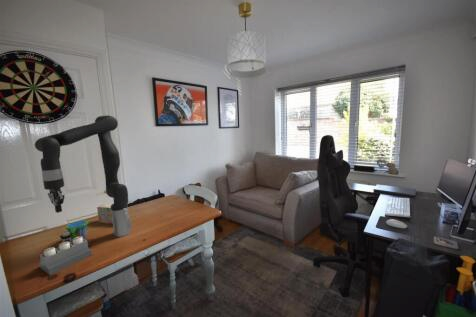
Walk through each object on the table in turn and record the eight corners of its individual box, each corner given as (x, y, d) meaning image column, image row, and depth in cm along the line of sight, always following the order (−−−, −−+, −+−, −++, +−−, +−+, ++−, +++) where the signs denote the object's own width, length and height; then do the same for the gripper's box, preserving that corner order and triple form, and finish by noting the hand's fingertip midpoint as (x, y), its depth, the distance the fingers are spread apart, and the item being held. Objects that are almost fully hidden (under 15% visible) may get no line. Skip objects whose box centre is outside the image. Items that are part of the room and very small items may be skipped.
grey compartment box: (81, 249, 120) (79, 236, 119) (91, 254, 114) (89, 241, 113) (39, 267, 105) (37, 253, 104) (49, 275, 99) (47, 260, 98)
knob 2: (81, 245, 117) (80, 235, 116) (85, 247, 115) (83, 237, 114) (72, 249, 113) (71, 238, 113) (76, 251, 111) (74, 240, 110)
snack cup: (75, 234, 138) (73, 219, 136) (93, 232, 140) (91, 217, 139) (62, 247, 123) (59, 231, 121) (83, 244, 125) (80, 228, 124)
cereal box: (129, 221, 156) (127, 205, 154) (122, 224, 150) (120, 208, 148) (106, 218, 161) (104, 203, 160) (98, 222, 155) (96, 206, 154)
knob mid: (68, 251, 112) (67, 240, 111) (72, 253, 110) (70, 242, 109) (59, 255, 108) (57, 244, 107) (62, 257, 106) (60, 246, 105)
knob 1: (54, 257, 107) (52, 246, 106) (58, 259, 105) (56, 248, 104) (44, 262, 103) (42, 250, 102) (47, 264, 101) (45, 252, 100)
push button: (76, 244, 125) (74, 229, 123) (77, 248, 121) (75, 232, 120) (62, 249, 120) (59, 233, 119) (62, 253, 117) (60, 236, 115)
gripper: (68, 177, 103) (73, 211, 106) (56, 175, 110) (62, 207, 112) (49, 181, 97) (55, 217, 99) (37, 178, 103) (44, 212, 106)
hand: (58, 211), depth 106 cm, fingers closed
